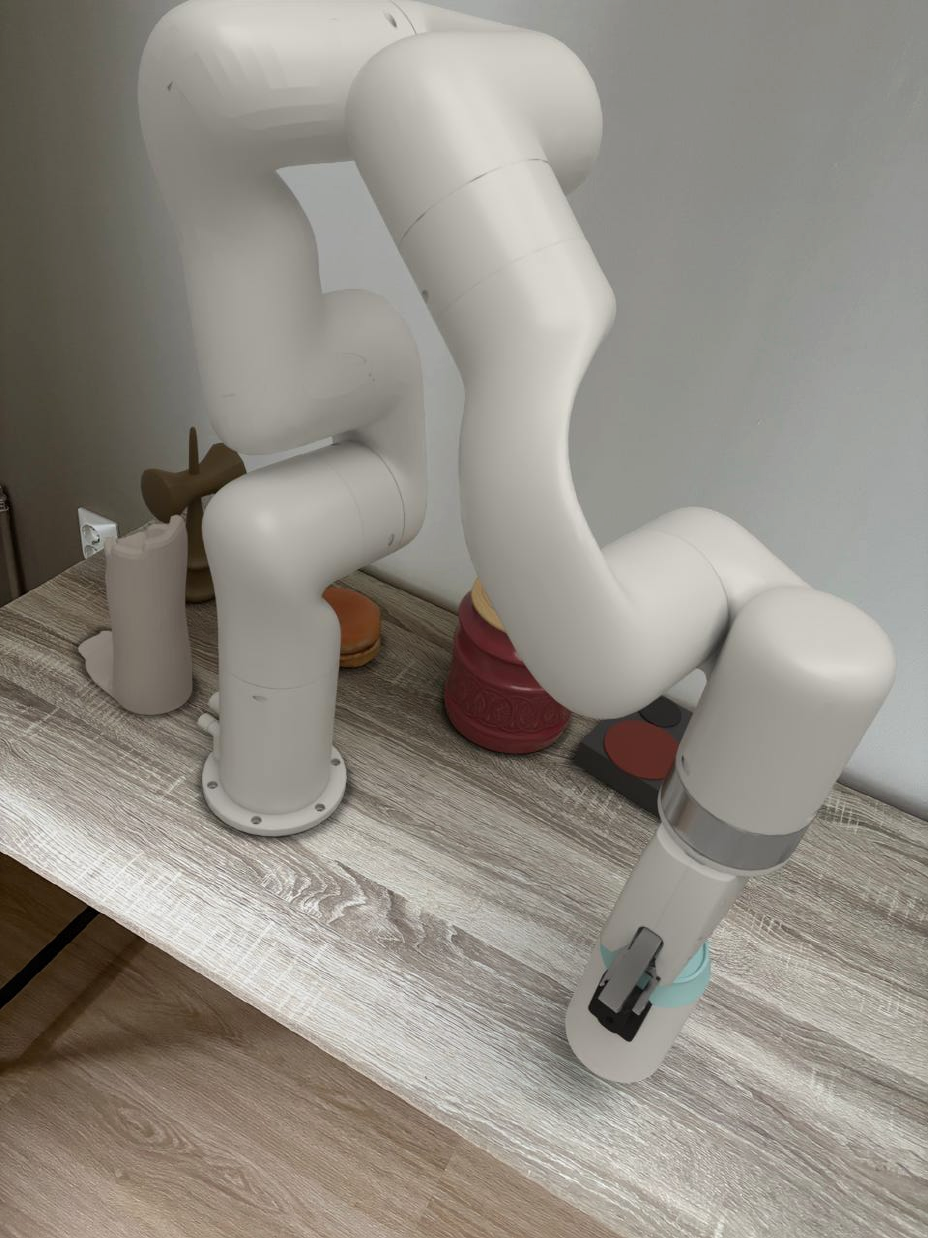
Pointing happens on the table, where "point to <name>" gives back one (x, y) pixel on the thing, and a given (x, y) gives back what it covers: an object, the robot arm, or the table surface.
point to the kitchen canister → (496, 686)
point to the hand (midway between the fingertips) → (642, 980)
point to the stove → (603, 768)
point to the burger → (355, 625)
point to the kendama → (192, 504)
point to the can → (657, 1030)
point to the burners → (645, 741)
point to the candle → (145, 622)
